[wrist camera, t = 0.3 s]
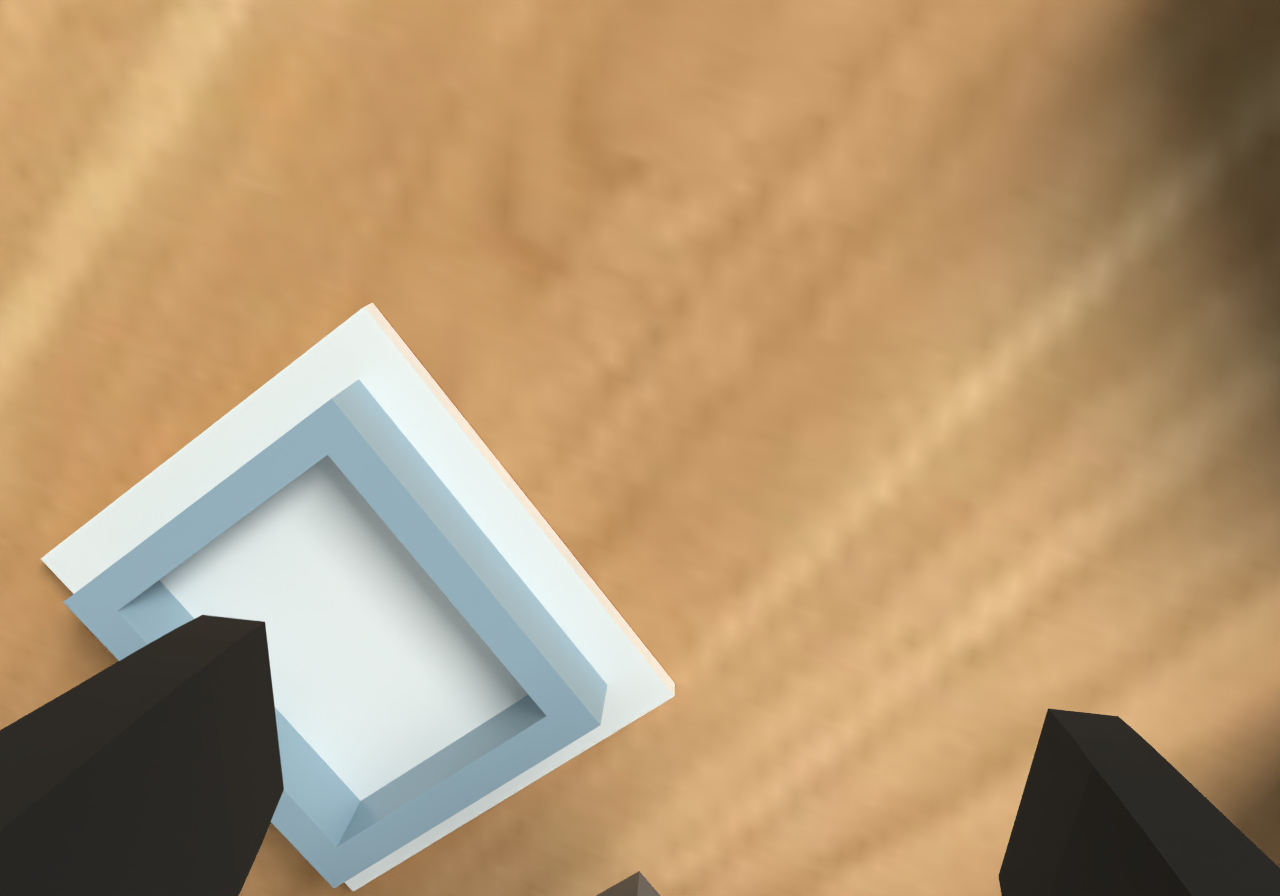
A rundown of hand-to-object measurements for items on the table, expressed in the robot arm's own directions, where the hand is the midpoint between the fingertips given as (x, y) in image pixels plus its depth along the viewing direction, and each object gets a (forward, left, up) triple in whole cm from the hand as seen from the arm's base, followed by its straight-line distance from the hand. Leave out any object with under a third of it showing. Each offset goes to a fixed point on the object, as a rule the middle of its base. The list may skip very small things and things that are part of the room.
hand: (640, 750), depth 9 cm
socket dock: (-8, 0, -11) cm, 13 cm away
